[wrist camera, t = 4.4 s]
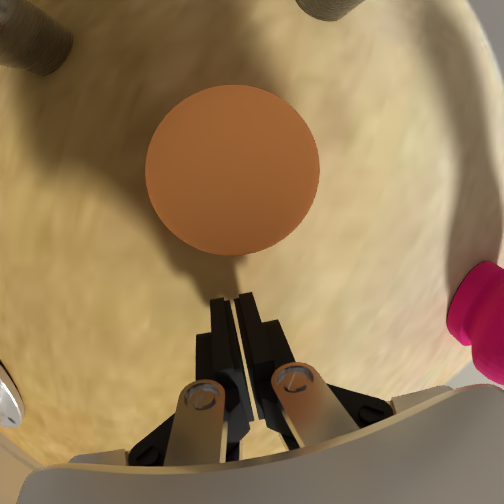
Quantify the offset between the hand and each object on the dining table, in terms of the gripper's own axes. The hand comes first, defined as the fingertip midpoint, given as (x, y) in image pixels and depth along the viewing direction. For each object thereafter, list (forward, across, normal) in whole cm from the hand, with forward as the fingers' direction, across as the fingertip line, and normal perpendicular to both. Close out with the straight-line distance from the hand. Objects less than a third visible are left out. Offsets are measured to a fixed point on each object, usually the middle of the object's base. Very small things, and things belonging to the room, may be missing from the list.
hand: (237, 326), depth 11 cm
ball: (-1, -1, -6) cm, 6 cm away
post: (+2, +6, -13) cm, 15 cm away
